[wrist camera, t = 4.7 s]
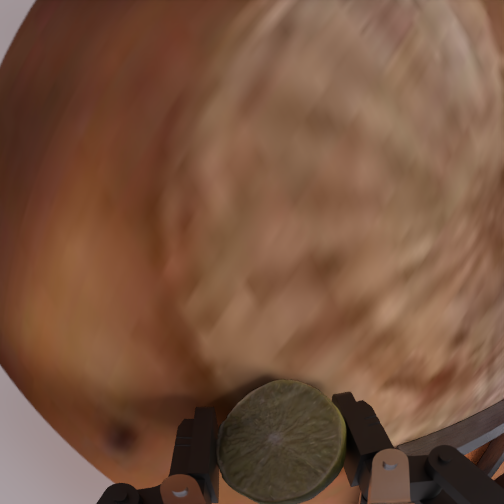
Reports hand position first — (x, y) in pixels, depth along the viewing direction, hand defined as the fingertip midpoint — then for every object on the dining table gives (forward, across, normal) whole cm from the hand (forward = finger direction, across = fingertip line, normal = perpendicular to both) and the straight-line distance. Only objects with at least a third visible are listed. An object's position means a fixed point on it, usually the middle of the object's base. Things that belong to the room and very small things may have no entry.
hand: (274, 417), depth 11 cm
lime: (+1, 0, 0) cm, 1 cm away
